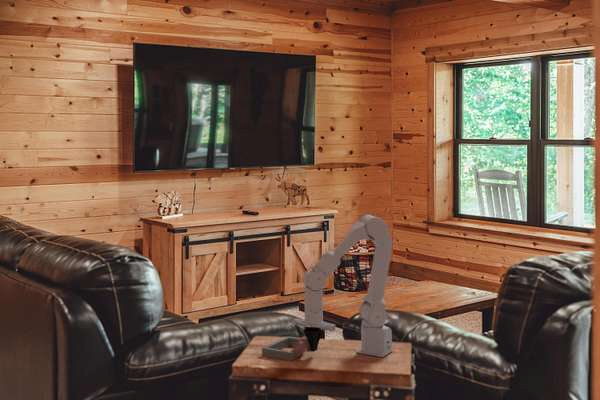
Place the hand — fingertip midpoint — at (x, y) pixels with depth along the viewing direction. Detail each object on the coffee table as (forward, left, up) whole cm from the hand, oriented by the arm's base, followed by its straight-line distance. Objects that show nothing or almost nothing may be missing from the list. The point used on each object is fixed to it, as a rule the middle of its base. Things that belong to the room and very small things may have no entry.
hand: (313, 350), depth 235 cm
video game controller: (+5, +1, -2) cm, 5 cm away
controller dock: (+9, 0, -2) cm, 10 cm away
